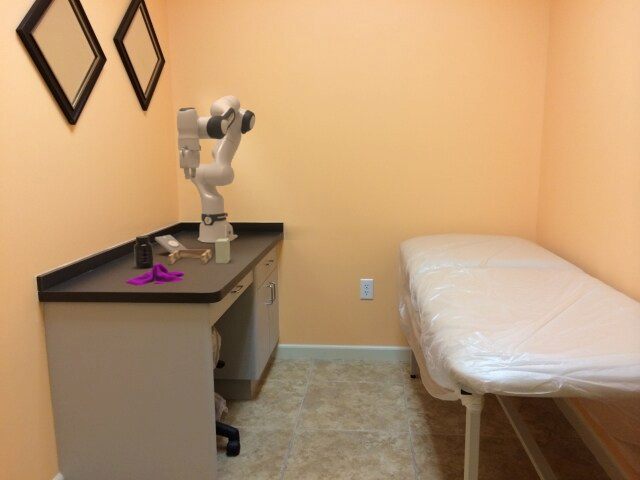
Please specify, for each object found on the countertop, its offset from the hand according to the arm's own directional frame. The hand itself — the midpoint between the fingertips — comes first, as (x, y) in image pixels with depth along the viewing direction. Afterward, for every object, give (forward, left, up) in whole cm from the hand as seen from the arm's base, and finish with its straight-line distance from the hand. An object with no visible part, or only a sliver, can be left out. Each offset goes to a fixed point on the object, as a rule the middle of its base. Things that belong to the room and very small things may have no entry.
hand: (190, 178), depth 215 cm
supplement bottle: (+28, -6, -33) cm, 44 cm away
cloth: (+44, +12, -34) cm, 57 cm away
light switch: (+3, -9, -33) cm, 35 cm away
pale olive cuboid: (+12, +20, -33) cm, 41 cm away
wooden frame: (+14, +6, -33) cm, 36 cm away
